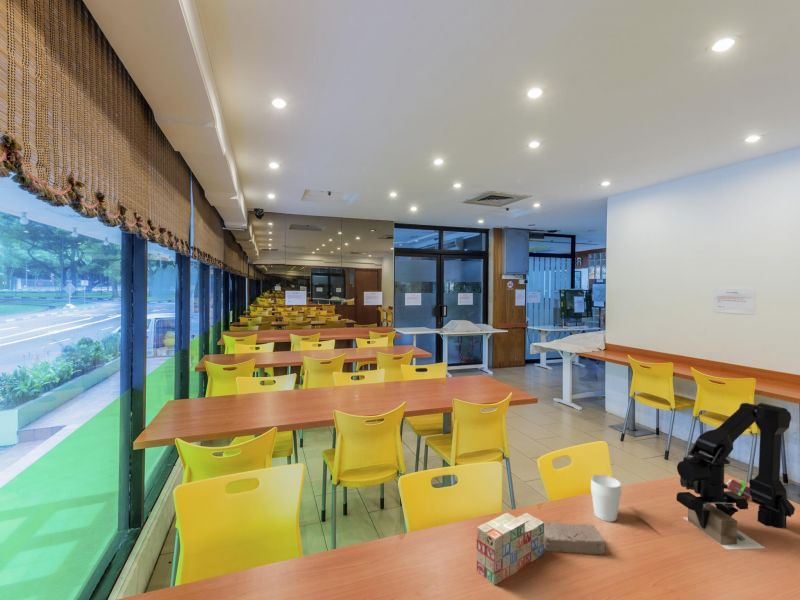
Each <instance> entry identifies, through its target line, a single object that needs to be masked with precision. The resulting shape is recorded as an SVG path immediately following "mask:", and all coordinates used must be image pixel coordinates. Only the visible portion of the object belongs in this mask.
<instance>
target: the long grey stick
mask: <svg viewBox="0 0 800 600" xmlns="http://www.w3.org/2000/svg"><path fill="white" fill-rule="evenodd" d="M737 538H738V539H739V540H741V541H745V538H744V537H743V536H741V535H740V534H738V533H737Z"/></svg>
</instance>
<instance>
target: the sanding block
mask: <svg viewBox="0 0 800 600" xmlns="http://www.w3.org/2000/svg"><path fill="white" fill-rule="evenodd" d="M706 509H708V510H709V511H710V513H709V517H708V521H707V525H706V527H705V529H703V528H702V527H701V526H700V523H699V520H698V518H697V515H696V513H695V511H694V510H690V509H688V508H687V517H688V521H689V522H688V521H687V522H688V523H689V524H691V525H692V524H693V525H692V526H694V527H695V526H696V527H695V528H696V529H698V530H699V529H700V531H701V532H702V531H703V532H704V535H706V534H707V535H706V536H708V537H709V538H710V537H711V538H710V539H712V540H713V539H714V540H715V542H716V543H717V542H718V543H717V544H719V545H720V546H721V545H730V544H737V530H738V520H737V519H736V518H734V517H732V516H729V515H727V514H726V513H724V512H723V511H721V510H719V509H718V508H716V506H715V505H714V504H713V505H712V504H706ZM703 532H702V533H703ZM714 540H713V541H714Z"/></svg>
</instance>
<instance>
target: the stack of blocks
mask: <svg viewBox="0 0 800 600" xmlns="http://www.w3.org/2000/svg"><path fill="white" fill-rule="evenodd" d="M544 522H545V521H542V520H541V519H539V518H537V517H534V515H531V514H530V513H528V512H526V513H523V514H521V515H519V516H517V517H515V516H514V515H512V514H511V513H509V512H505V513H503V514H500V515H499V516H498V517H497V516H496V517H495V518H493V519H491V520H489V521H487V522H485V523H482V524H481V525H479V526H477V529H476V531H477V533H476V537H477V538H476V572H477V571H478V572H479V573H478V572H477V573H478V574H479V575H481V574H482V575H483V576H484V577H485V578H484V577H483V576H482V575H481V576H482V577H483V578H484V579H486V578H487V579H488V580H490V581H489V582H490V583H491V582H492V583H493V584H494V585H493V584H492V583H491V584H492V585H493V586H495V584H496V585H498V584H499V583H500V581H501V582H502V580H503V581H504V580H506V579H508V578H509V577H510V576H513V575H514V574H515V573H517V572H518V571H519V570H521V569H523V568H525V566H528V564H530V563H533V562H534V561H535V560H537V559H539V558H540V557H542V556H543V555H545V548H544V539H545V534H544ZM487 579H486V580H487ZM488 580H487V581H488ZM498 582H499V583H498Z"/></svg>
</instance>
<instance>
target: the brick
mask: <svg viewBox="0 0 800 600" xmlns="http://www.w3.org/2000/svg"><path fill="white" fill-rule="evenodd" d="M543 522H544V534H545V539H544V550H546V551H547V552H555V553H556V552H557V553H559V552H562V553H571V552H572V553H573V554H584V555H602V554H604V553H605V552H606V545H605V543H606V542H605V540H604V538H603V536H602V534H601V533H600V531H599V530H598V529H597V528H596V526H594V525H593V524H589V523H588V524H587V523H574V524H571V523H562V522H554V521H553V522H546V521H543ZM572 553H571V554H572Z"/></svg>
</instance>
